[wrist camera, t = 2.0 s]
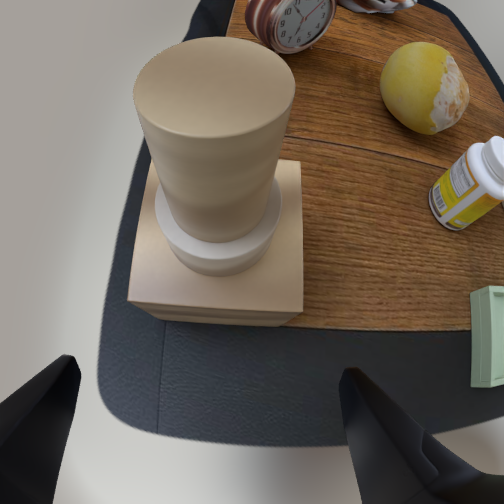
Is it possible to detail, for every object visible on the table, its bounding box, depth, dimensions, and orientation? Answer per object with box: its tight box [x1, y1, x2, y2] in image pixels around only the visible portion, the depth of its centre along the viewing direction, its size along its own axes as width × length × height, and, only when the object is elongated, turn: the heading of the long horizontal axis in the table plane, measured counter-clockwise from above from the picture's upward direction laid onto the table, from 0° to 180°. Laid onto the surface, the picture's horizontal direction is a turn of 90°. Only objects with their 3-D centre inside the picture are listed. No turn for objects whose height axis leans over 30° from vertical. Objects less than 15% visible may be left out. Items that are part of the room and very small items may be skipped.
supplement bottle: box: [429, 136, 504, 230], centre depth 23 cm, size 6×6×10 cm
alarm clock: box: [245, 0, 337, 55], centre depth 27 cm, size 11×5×15 cm, turn 127°
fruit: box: [380, 42, 469, 135], centre depth 27 cm, size 10×11×10 cm
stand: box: [127, 159, 303, 327], centre depth 21 cm, size 9×9×8 cm
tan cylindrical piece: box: [133, 37, 295, 277], centre depth 12 cm, size 6×6×10 cm
